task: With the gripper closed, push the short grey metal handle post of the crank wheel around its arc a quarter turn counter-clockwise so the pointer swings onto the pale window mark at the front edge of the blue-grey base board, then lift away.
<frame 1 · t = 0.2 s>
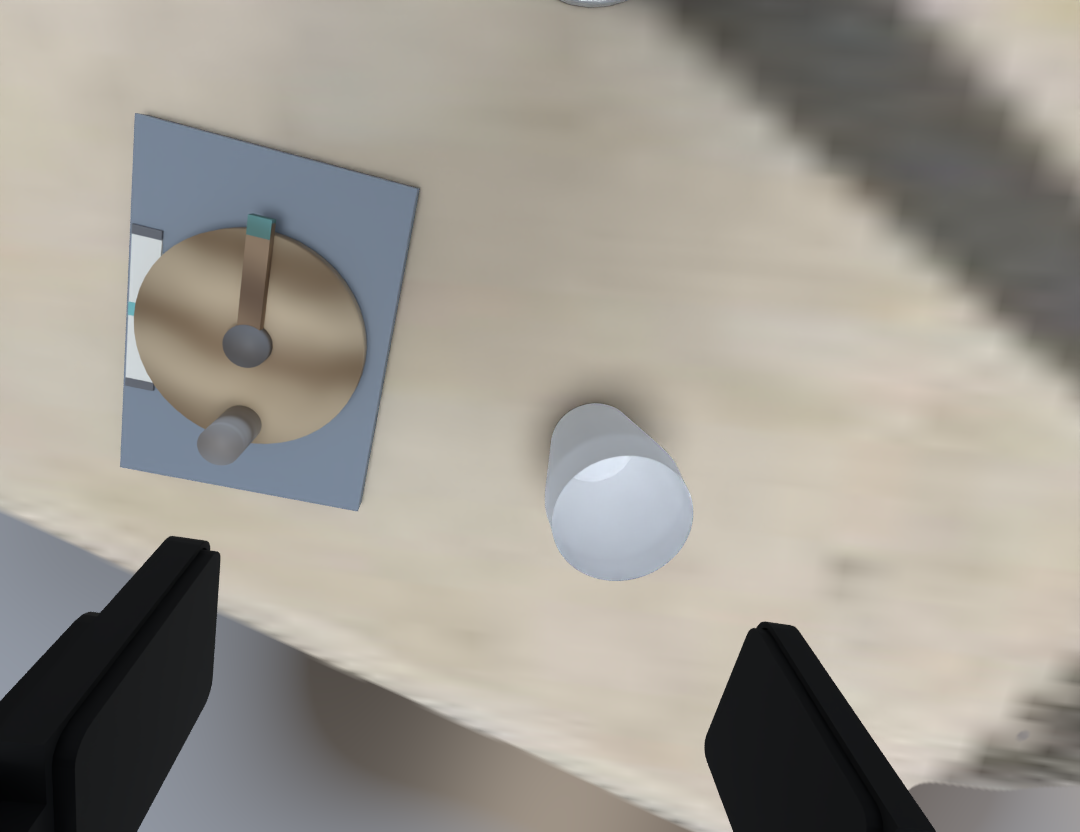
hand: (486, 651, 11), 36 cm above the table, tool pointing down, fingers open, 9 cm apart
blue-grey base board: (267, 331, 45), on the table
cup: (592, 441, 50), on the table
crank wheel: (244, 340, 40), point 5 cm above the table, hinge at 0.0°
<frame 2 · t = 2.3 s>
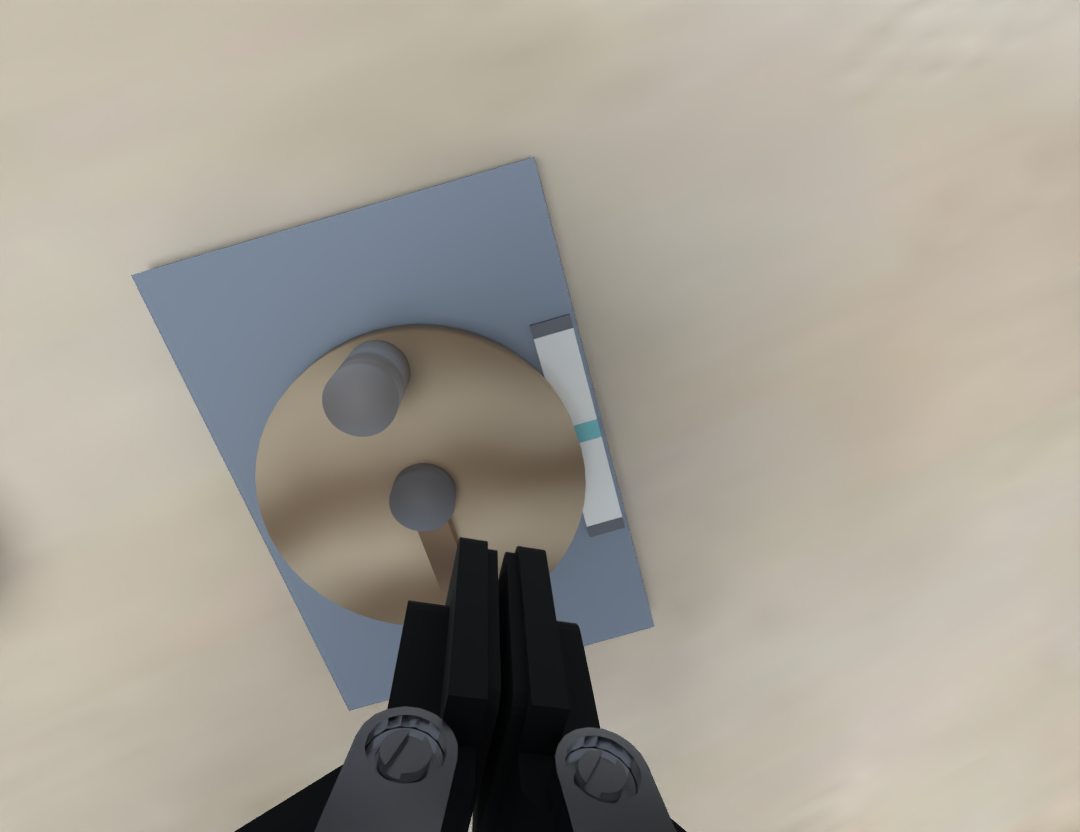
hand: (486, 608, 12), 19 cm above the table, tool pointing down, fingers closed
blue-grey base board: (430, 461, 31), on the table
crank wheel: (425, 515, 27), point 5 cm above the table, hinge at 0.0°
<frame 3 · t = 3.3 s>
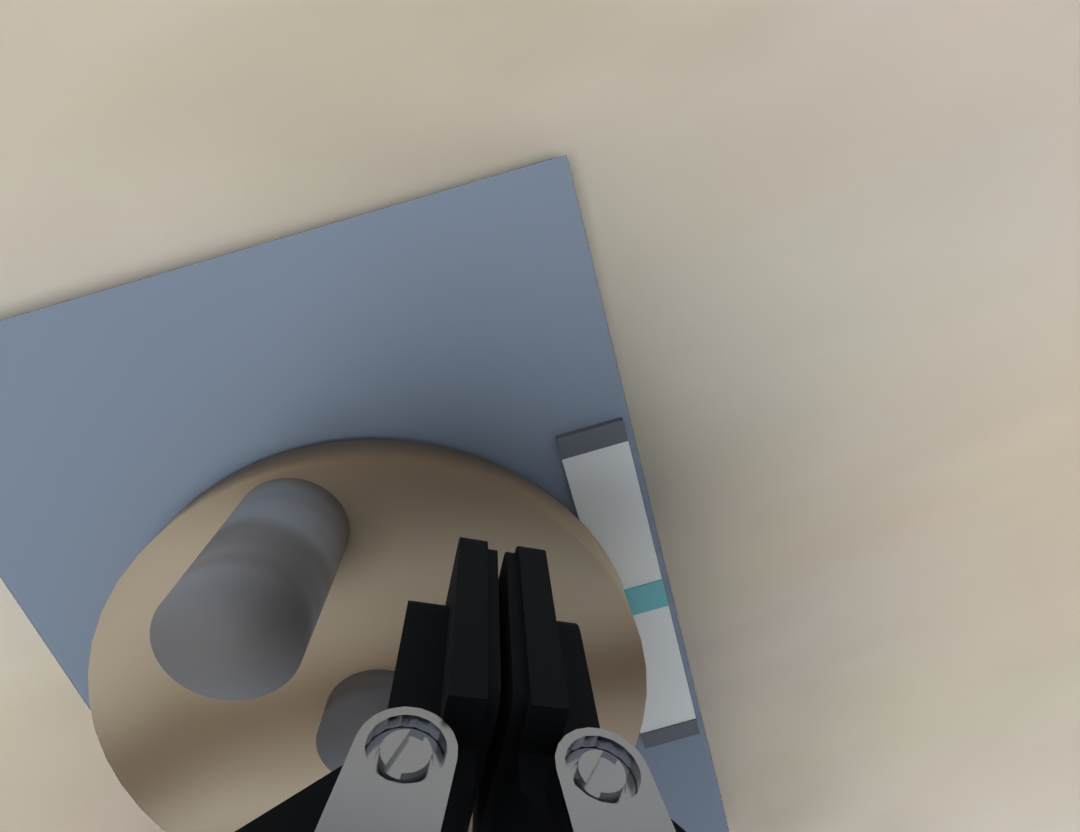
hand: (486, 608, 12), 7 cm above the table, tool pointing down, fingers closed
blue-grey base board: (396, 631, 20), on the table
crank wheel: (378, 765, 16), point 5 cm above the table, hinge at 0.0°
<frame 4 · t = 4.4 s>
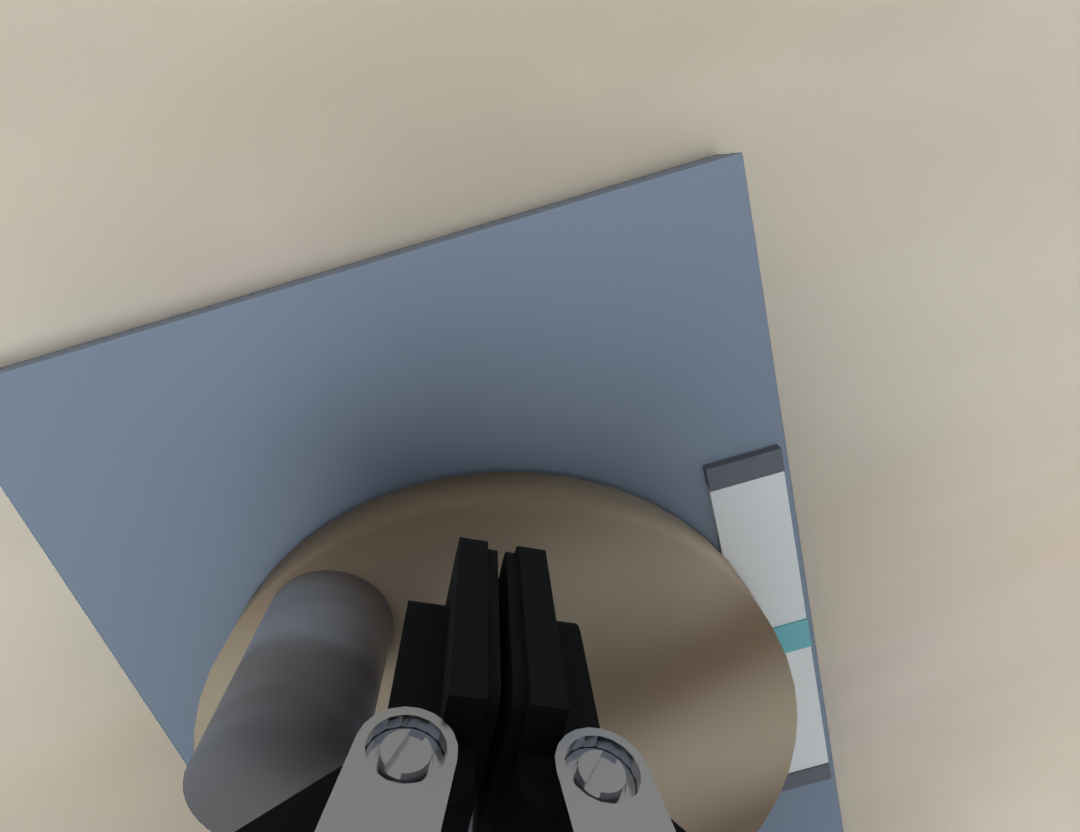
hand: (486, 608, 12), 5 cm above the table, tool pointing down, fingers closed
blue-grey base board: (503, 669, 19), on the table
crank wheel: (522, 827, 14), point 5 cm above the table, hinge at 23.5°, touching gripper
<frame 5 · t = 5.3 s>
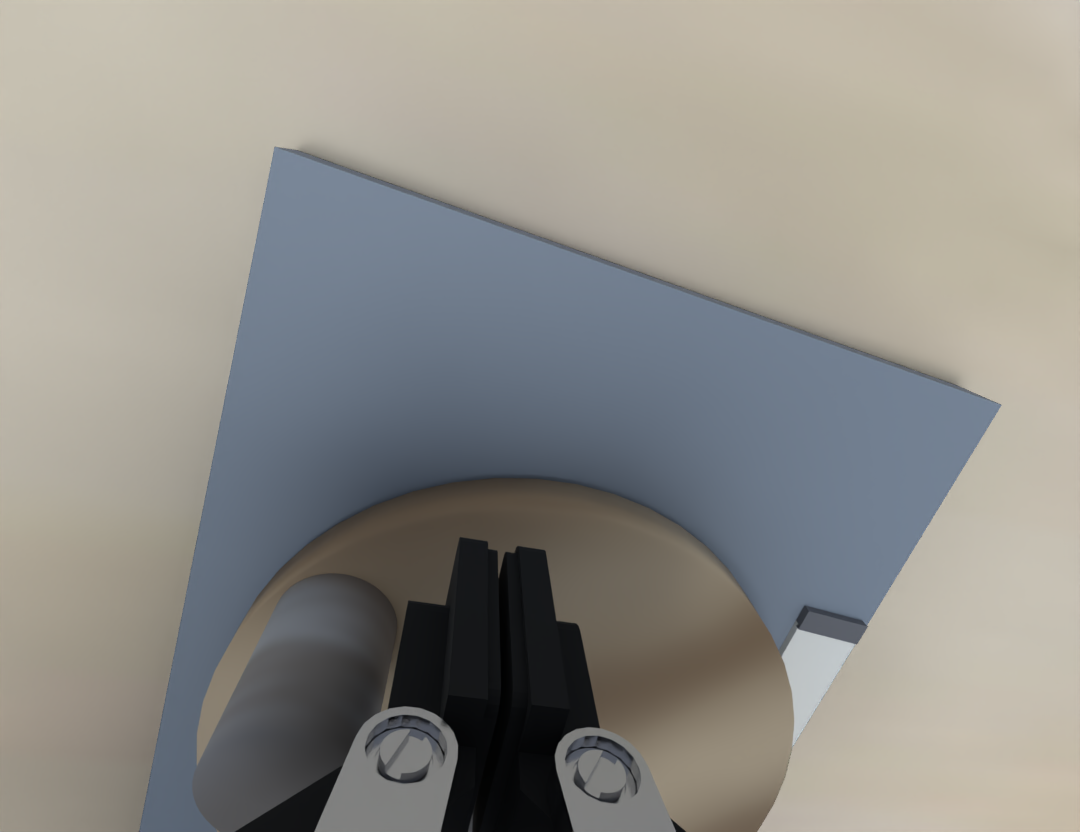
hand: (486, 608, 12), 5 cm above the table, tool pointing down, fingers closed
blue-grey base board: (503, 673, 19), on the table
crank wheel: (521, 830, 15), point 5 cm above the table, hinge at 57.5°, touching gripper
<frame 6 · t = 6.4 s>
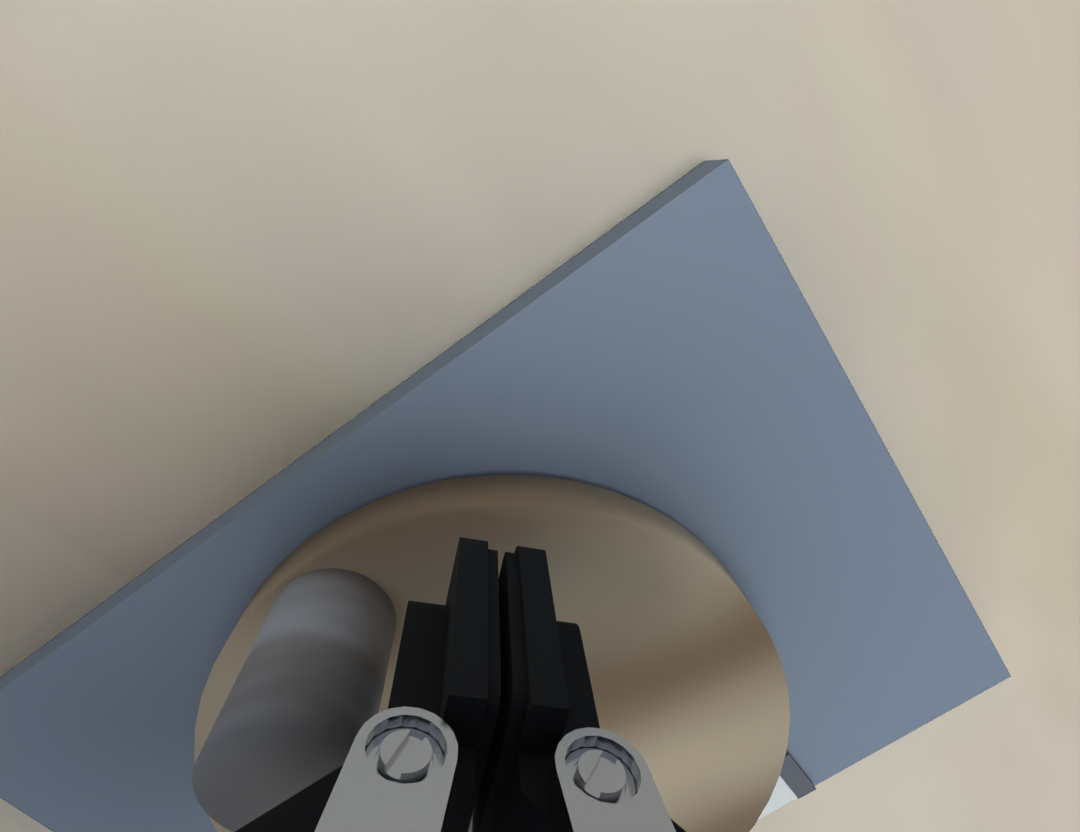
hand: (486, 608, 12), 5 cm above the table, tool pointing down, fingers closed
blue-grey base board: (500, 669, 19), on the table
crank wheel: (518, 825, 15), point 5 cm above the table, hinge at 92.3°, touching gripper
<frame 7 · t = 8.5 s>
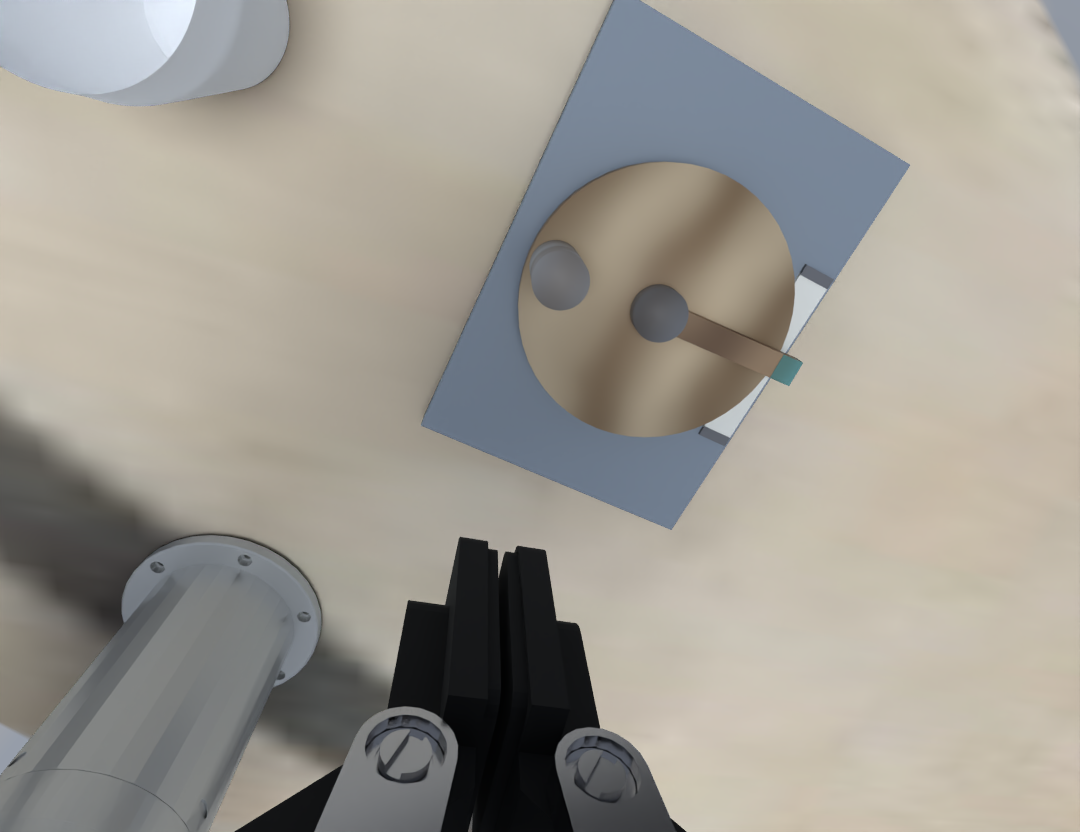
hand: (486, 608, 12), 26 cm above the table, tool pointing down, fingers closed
blue-grey base board: (644, 297, 36), on the table
cup: (220, 13, 30), on the table
crank wheel: (670, 320, 32), point 5 cm above the table, hinge at 92.5°
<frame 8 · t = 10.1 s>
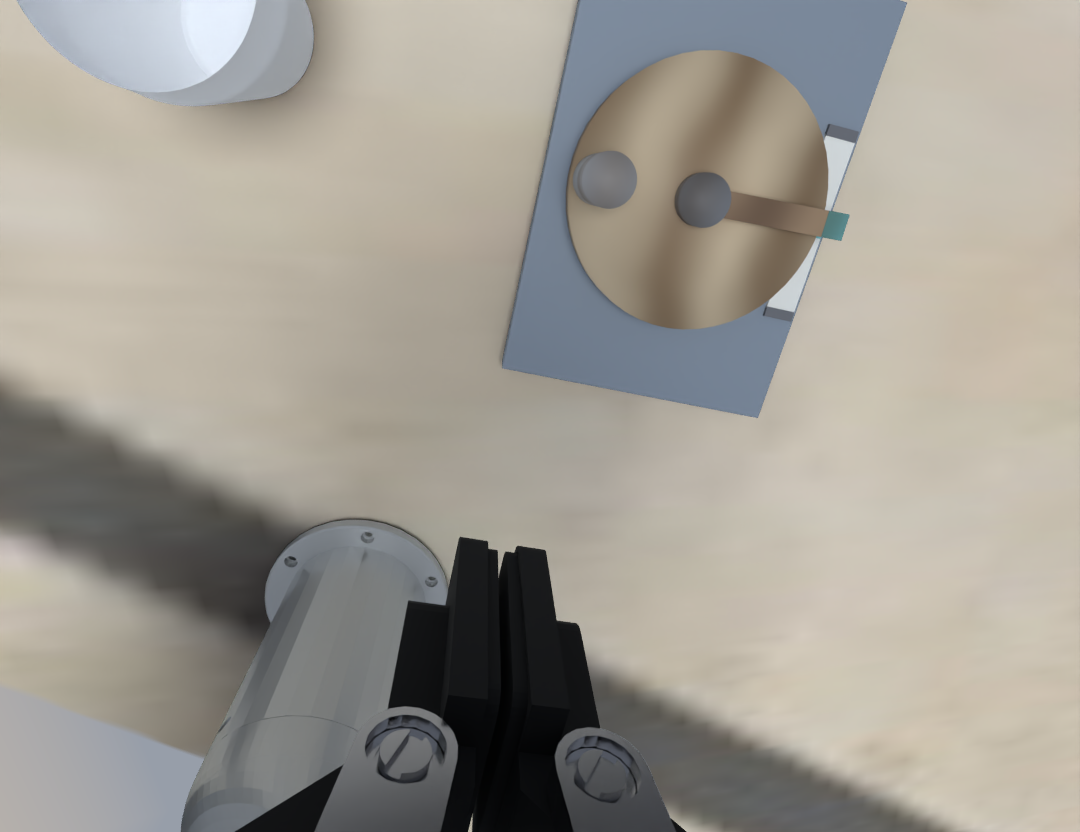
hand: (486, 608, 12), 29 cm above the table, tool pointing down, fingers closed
blue-grey base board: (682, 198, 38), on the table
cup: (250, 29, 33), on the table
crank wheel: (715, 202, 34), point 5 cm above the table, hinge at 92.5°
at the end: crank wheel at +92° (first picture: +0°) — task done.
